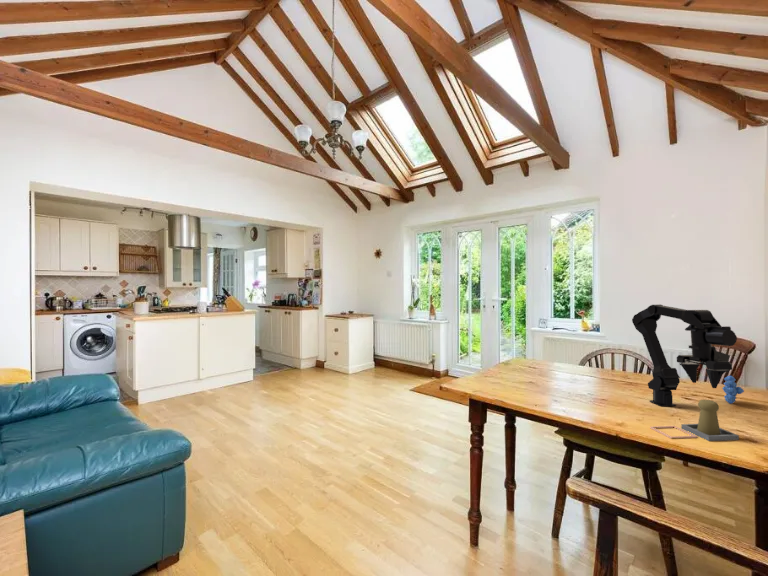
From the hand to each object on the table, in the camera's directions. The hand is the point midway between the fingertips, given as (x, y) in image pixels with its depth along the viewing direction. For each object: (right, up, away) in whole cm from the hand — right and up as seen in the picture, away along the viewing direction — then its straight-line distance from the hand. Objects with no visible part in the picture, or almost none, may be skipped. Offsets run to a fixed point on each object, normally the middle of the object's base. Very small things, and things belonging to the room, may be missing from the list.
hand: (704, 385), depth 136 cm
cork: (-10, -13, -13) cm, 21 cm away
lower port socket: (-10, -13, -13) cm, 21 cm away
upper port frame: (-21, -13, -11) cm, 27 cm away
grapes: (+27, -12, +17) cm, 34 cm away
